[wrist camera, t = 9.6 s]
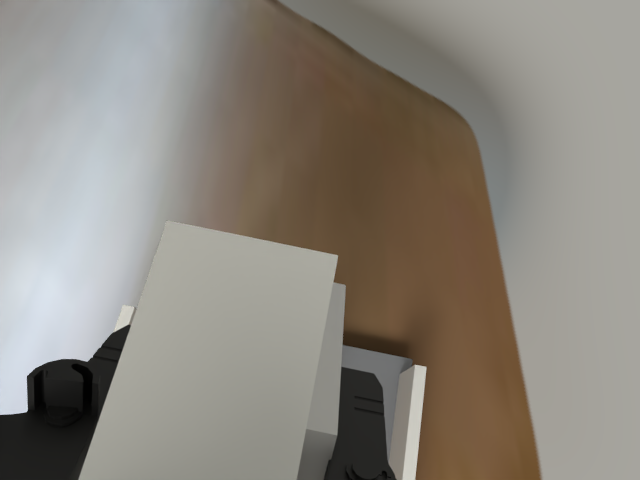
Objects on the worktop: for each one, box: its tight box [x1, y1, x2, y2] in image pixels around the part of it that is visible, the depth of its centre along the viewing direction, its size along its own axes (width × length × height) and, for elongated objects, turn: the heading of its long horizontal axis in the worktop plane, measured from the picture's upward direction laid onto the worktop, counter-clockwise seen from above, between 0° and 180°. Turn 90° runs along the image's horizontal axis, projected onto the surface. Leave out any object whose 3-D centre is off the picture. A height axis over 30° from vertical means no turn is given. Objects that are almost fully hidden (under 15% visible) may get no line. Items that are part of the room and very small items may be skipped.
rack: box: [114, 305, 427, 480], centre depth 26 cm, size 13×16×5 cm
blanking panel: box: [78, 220, 338, 480], centre depth 13 cm, size 6×3×12 cm, turn 169°
